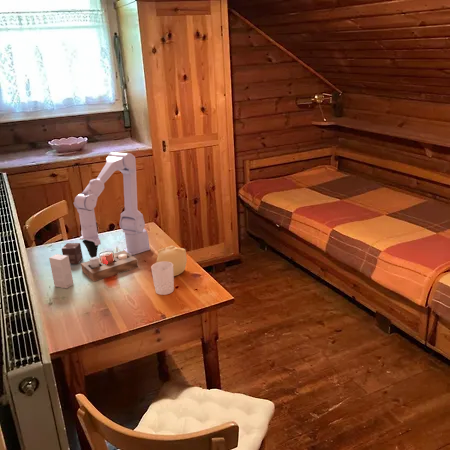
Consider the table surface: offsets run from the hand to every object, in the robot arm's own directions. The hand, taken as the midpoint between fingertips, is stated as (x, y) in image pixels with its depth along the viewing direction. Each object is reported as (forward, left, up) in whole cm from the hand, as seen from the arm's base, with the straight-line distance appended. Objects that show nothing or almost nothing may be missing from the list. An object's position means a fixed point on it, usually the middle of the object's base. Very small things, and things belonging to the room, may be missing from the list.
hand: (93, 256), depth 195 cm
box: (+2, -18, -8) cm, 20 cm away
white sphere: (0, 0, -5) cm, 5 cm away
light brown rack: (-6, 0, -7) cm, 10 cm away
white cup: (-14, +31, -8) cm, 35 cm away
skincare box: (+13, +1, -8) cm, 15 cm away
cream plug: (-12, 0, -7) cm, 14 cm away
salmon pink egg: (-6, 0, -5) cm, 8 cm away
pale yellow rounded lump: (-24, +20, -8) cm, 32 cm away
